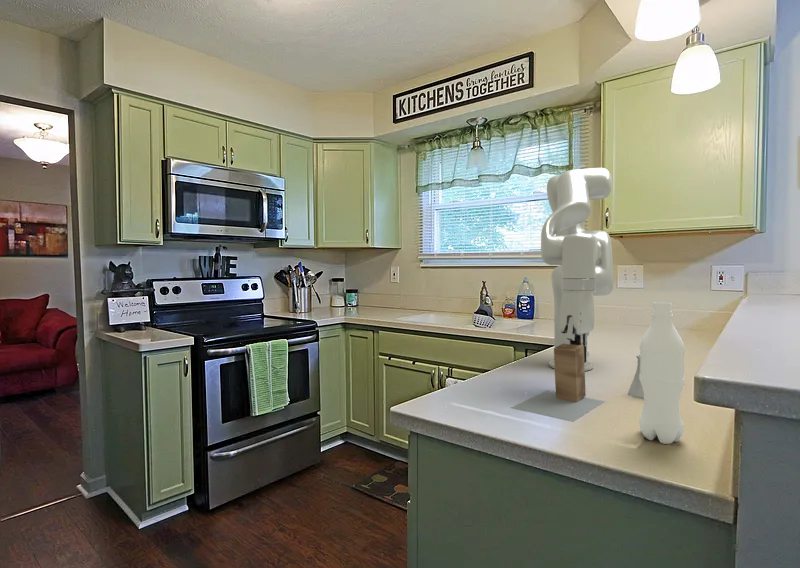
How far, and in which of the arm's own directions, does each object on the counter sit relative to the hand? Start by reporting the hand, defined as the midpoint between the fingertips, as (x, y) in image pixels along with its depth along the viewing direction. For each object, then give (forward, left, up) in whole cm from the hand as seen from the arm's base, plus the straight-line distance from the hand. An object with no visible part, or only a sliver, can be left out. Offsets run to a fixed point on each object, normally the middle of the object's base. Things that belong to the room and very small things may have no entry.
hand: (578, 362), depth 112 cm
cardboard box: (+4, 0, -8) cm, 9 cm away
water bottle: (+17, +22, -9) cm, 29 cm away
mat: (+11, 0, -8) cm, 14 cm away
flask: (-9, +12, -9) cm, 17 cm away
